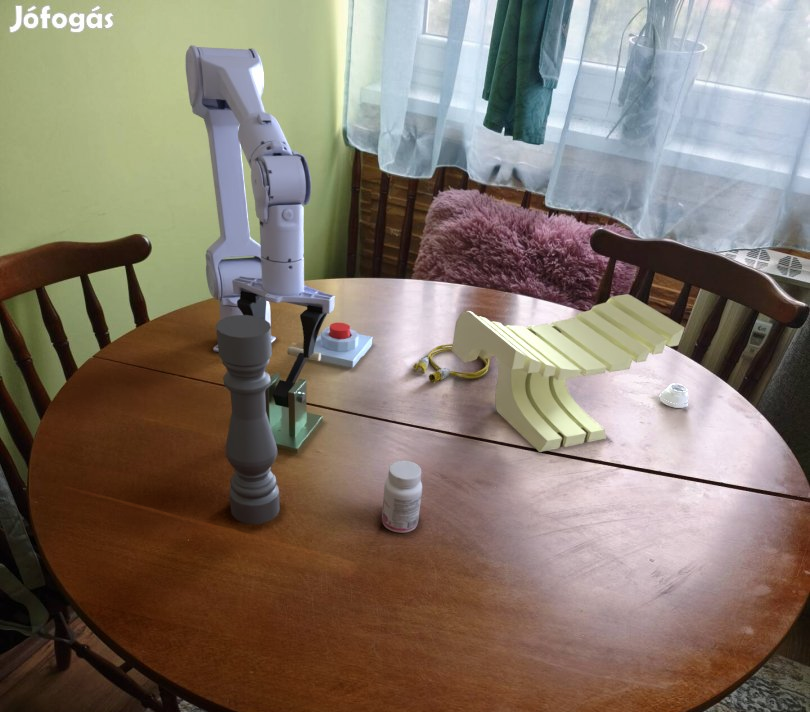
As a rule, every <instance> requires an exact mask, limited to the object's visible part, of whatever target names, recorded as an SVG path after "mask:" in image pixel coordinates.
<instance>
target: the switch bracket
mask: <svg viewBox="0 0 810 712" xmlns="http://www.w3.org/2000/svg"><path fill="white" fill-rule="evenodd" d="M281 376H282V375H281V373H277V372H274V373H273V374H272V375H270V379H271V383H270V385H269V387H268V388H267V389H266V390H265V402H266V413H267V416H268V420H269V423H270V426H271V430H272V433H273V436H274V439H275V442H276V446H277V450H278V449H279V450H281V451H286V452H291V453H295V454H298V453H299V452H300V451H301V449H302V448H303V447H304V445H305V444H306V443H307V441H308V440H309V439H310V437H312V435H313V433H314V432H315V431H316V430H317V428H318V427H319V426H320V425H321V423H322V422H323V418H324V417H323V415H321V414H316V413H312V412H308V411H307V379H304V378H298V380H297V381H296V383H295V385H294V386H293V387H292V388H291V389H290V391H289V392H288V402H289V408H287V407H282V406H278V405H276V404H275V401H274V397H273V392H274V390H275V388H276V386H277V384H278V382H279V380H282V377H281Z"/></svg>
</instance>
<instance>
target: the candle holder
mask: <svg viewBox="0 0 810 712" xmlns="http://www.w3.org/2000/svg"><path fill="white" fill-rule="evenodd" d="M271 326H272V325H271ZM271 326H270V323H269V322H267V321H266V320H265V319H262V318H259V317H256V316H250V315H235V316H230V317H226V318H223V319H219V320H218V321H217V322H216V324H215V329H216V338H217V339H216V341H217V345H218V351H219V352H218V357H219V358H220V359H221V364H222V365H223V366H224V368H225V369H226V371H227V372H225V374H224V375H223V377H222V382H223V385H224V387H225V388H226V389H227V391H229V393H230V402H231V403H230V404H231V415H230V420H229V425H228V431H227V436H226V442H225V448H224V449H225V457H226V459H227V462H228V463H229V464H230V466H231V467H233V469H234V473H233V474H232V476H231V478H230V479H229V483H230V488H229V489H228V494H229V506H230V513H231V516H232V517H233V518H234V519H235V520H237V521H239V522H241V523H243V524H248V525H249V524H250V525H260V524H261V525H262V524H265V523H267V522H270V521H272V520H273V519H274V518H276V517H277V516H278V514H279V512H280V509H281V508H280V507H281V506H280V490H279V486H278V481H277V478H276V477H277V476H276V475H275V474H274V473H273V472H272V471H271V470H272V466H273V465H274V463H275V461H276V460H277V457H278V448H277V446H276V442H275V439H274V436H273V433H272V430H271V426H270V423H269V420H268V416H267V413H266V402H265V390H266V389H267V388H268V387H269V385H270V383H271V379H270V377H271V375H270V374H269V373H268V372H266V370H267V368H268V367H267V366H268V365H269V364H270V359H271V358H272V356H273V350H272V349H273V348H272V347H273V345H272V343H271V336H272V327H271Z"/></svg>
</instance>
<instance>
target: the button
mask: <svg viewBox="0 0 810 712" xmlns="http://www.w3.org/2000/svg"><path fill="white" fill-rule="evenodd" d="M329 327H330V337H332V338H335V339H347V338H349V337H350V328H351V326H350V325H349V324H348V323H345V322H333V323H331V324H330V325H329Z"/></svg>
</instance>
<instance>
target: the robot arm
mask: <svg viewBox="0 0 810 712" xmlns="http://www.w3.org/2000/svg"><path fill="white" fill-rule="evenodd" d="M185 76H186V83H187V91H188V98H189V104H190V106H191V110H192V111H191V112H192V113H193V114H194V115H195V116H197V117H199V118H201V119H203V121H204V125H205V129H206V132H207V138H208V146H209V147H208V148H209V154H210V155H209V156H210V163H211V170H212V177H213V178H212V179H213V187H214V196H215V203H216V210H217V218H218V226H219V234H220V236H218V238H217V239H216V240H215V241H214V242H213V243H212V244H211V245H210V246H209V247H208V248H207V249H206V251H205V252H206V253H205V265H206V266H205V276H206V283H207V287H208V291H209V293H210V295H211V297H213V298H214V299H215V300H216V301H217V300H218V305H219V307H218V308H219V317H220V318H219V320H221V319H223V318H226V317H230V316H235V315H250V316H256V317H259V318H262V319H265V320H266V321H267V322H269V323H270V326H272V323H271V321H272V319H271V304H270V303H274V304H279V303H281V302H282V303H286V304H291V305H295V306H299V307H300V306H302V307H305V308H306V309H305V310H304V311H303V312H301V313H300V314H299V319H300V322H301V327H302V336H303V343H302V344H303V346H302V347H303V348H302V349H303V353H304V357H305V358H309V357H310V356H311V355H312V354H313V353H314V347H315V343H316V339H317V337H318V336H319V333H320V330H321V327H322V325H323V323H324V321H325V319H326V318H327V315H328V314H330V313H332V312H333V311H334V309H335V297H336V296H335V295H334V294H329V293H327V292H323V291H321V290H318V289H315V288H313V287H310V286H308V285H306V284H305V249H304V248H305V239H304V237H305V236H304V235H305V230H304V229H305V226H304V224H305V218H304V217H305V216H304V215H305V214H304V213H305V208H304V206H307V205H309V202H310V199H311V197H312V194H311V193H312V177H311V172H310V167H309V164H308V161H307V158H306V156H305V155H304V154H302V153H298V151H297V150H292V148H291V146H290V145H289V142H288V141H287V138H286V136H285V133H284V132H283V129H282V127H281V126H280V125H281V124H280V123H279V122H278V120H277V118H276V117H275V116H274V115H272V114H271V113H268V112H266V110H265V107H264V104H263V100H262V95H263V94H264V89H265V88H264V87H265V79H264V78H265V74H264V67H263V63H262V59H261V56H260V55H259V53H258V51H257V50H256V49H255V48H247V49H243V48H227V47H226V48H225V47H208V46H207V47H205V46H196V45H192V44H191V45H189V47H188V49H187V50H186V52H185ZM242 152H243V154H244V156H245V158H246V161H247V163H248V165H249V168H250V180H251V181H250V182H251V188H252V194H253V198H254V206H255V207H254V209H255V210H254V211H255V215H256V218H257V219H258V220H259V240H260V241H259V243H258V242H257V241H256V240H255V239H253V238H252V237H251V233H250V224H249V223H250V222H249V215H248V204H247V195H246V194H247V193H246V186H245V185H246V184H245V176H244V175H245V174H244V165H243V157H242ZM276 339H277V337H276V336H274V335H271V344H272V343H273V342H274V341H276ZM212 349H213V352H215V353H219V351H218V344H216V345H215V346H214V347H213V348H212Z"/></svg>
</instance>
